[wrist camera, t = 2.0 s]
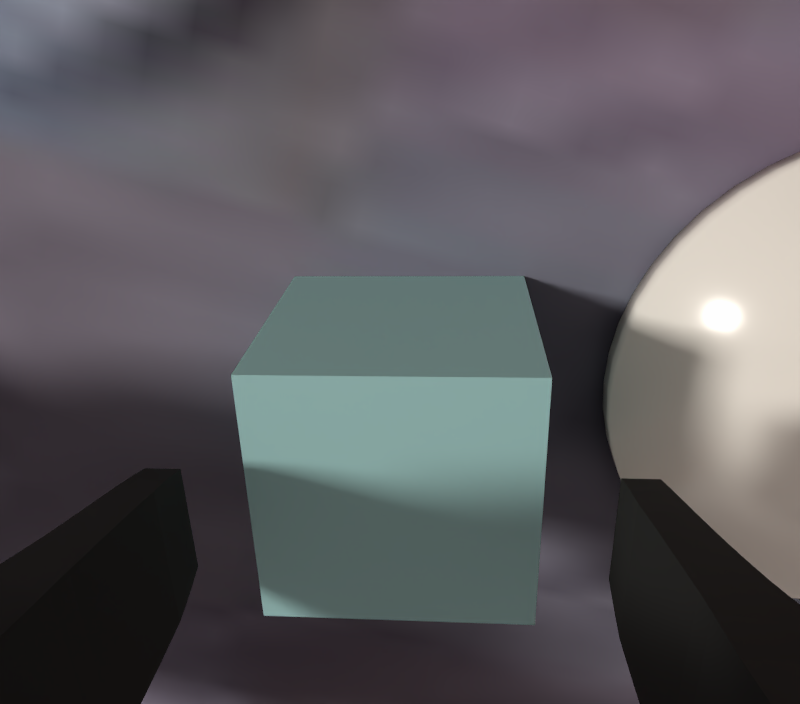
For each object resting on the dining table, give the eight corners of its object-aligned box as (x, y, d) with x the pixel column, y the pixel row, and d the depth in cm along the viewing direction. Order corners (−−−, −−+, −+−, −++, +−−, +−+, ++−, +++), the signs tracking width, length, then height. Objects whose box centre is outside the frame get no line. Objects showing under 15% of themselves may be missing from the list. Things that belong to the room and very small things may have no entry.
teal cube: (312, 466, 18) (263, 615, 13) (295, 275, 16) (230, 375, 11) (514, 469, 17) (534, 625, 13) (523, 275, 15) (552, 378, 11)
